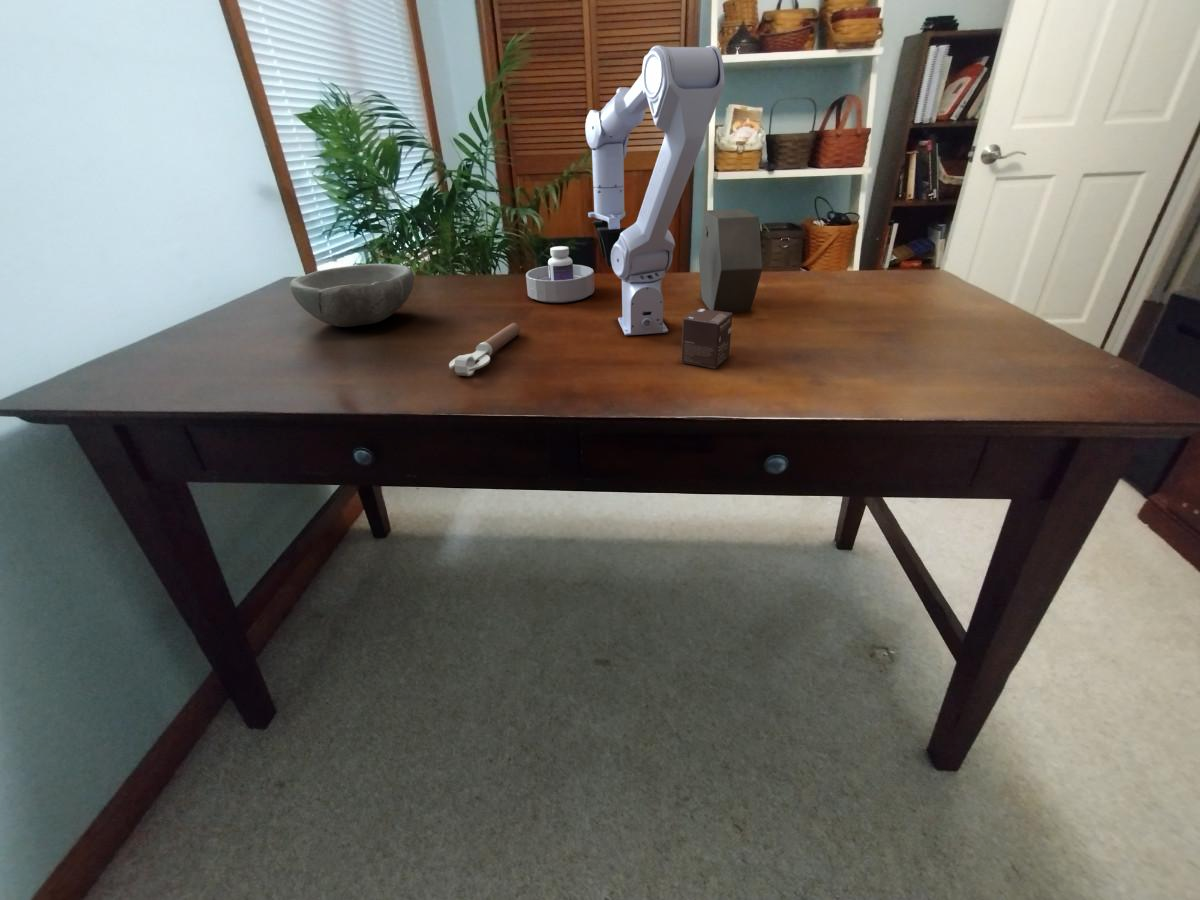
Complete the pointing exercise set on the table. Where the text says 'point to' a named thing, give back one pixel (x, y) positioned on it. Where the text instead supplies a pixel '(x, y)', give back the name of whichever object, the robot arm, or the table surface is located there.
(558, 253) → the pill bottle
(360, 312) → the bowl
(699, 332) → the box
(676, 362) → the table surface
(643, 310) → the robot arm
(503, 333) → the manual can opener
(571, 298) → the round gray tray
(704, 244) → the planter
